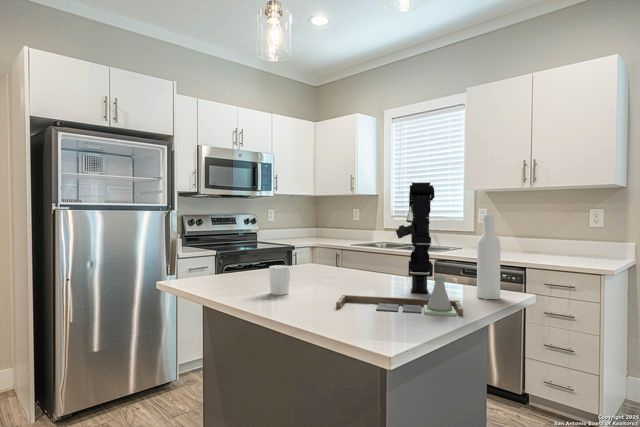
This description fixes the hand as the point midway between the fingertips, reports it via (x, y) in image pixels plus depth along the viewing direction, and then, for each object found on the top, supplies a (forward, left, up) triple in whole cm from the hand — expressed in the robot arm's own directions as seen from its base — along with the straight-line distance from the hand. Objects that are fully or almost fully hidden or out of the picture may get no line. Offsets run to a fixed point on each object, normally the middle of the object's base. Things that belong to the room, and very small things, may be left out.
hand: (420, 262), depth 143 cm
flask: (+15, +6, -12) cm, 20 cm away
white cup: (0, -51, -13) cm, 53 cm away
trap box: (+13, -7, -13) cm, 20 cm away
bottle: (-11, +24, -13) cm, 30 cm away
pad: (+15, +6, -13) cm, 21 cm away
